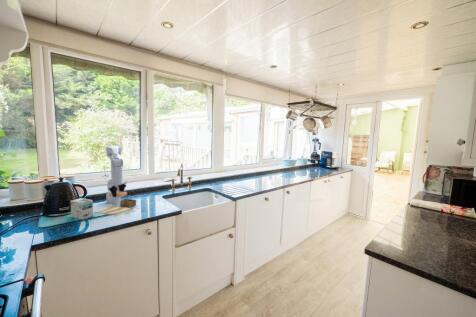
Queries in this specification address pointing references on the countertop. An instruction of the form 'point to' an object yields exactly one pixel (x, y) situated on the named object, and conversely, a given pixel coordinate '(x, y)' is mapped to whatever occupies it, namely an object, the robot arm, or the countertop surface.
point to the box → (128, 202)
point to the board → (114, 210)
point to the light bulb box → (81, 208)
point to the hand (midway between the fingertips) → (117, 195)
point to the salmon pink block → (119, 194)
